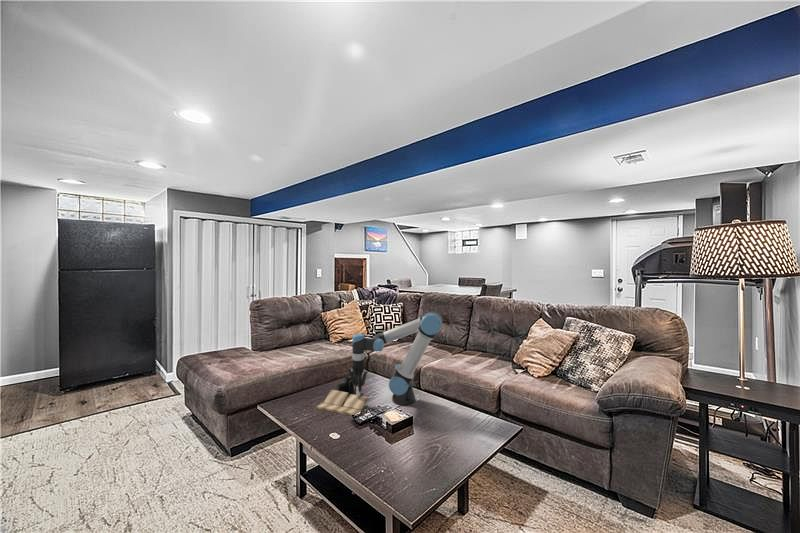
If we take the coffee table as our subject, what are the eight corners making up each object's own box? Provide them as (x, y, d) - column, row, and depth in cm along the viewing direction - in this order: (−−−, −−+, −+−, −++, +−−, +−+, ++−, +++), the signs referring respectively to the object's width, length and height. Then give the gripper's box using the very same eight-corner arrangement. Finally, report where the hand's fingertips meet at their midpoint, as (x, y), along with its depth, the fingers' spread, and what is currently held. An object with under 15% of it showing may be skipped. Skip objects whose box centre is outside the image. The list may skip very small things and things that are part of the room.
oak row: (361, 412, 200) (361, 410, 200) (356, 416, 195) (356, 414, 195) (322, 404, 211) (322, 402, 211) (316, 408, 205) (316, 406, 205)
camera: (334, 389, 236) (334, 375, 236) (349, 387, 240) (349, 373, 240) (339, 396, 223) (339, 382, 223) (355, 394, 228) (355, 379, 227)
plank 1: (348, 393, 215) (348, 392, 214) (341, 407, 207) (340, 405, 206) (331, 390, 220) (331, 389, 219) (324, 403, 212) (323, 402, 211)
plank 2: (368, 398, 210) (368, 397, 210) (361, 411, 202) (361, 409, 201) (351, 395, 215) (350, 393, 214) (343, 407, 206) (343, 405, 206)
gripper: (370, 358, 211) (370, 395, 212) (352, 356, 216) (352, 392, 217) (364, 362, 204) (364, 400, 205) (346, 359, 209) (346, 396, 210)
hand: (358, 395), depth 211 cm, fingers closed
